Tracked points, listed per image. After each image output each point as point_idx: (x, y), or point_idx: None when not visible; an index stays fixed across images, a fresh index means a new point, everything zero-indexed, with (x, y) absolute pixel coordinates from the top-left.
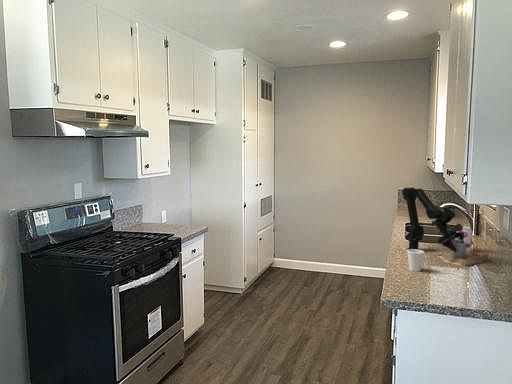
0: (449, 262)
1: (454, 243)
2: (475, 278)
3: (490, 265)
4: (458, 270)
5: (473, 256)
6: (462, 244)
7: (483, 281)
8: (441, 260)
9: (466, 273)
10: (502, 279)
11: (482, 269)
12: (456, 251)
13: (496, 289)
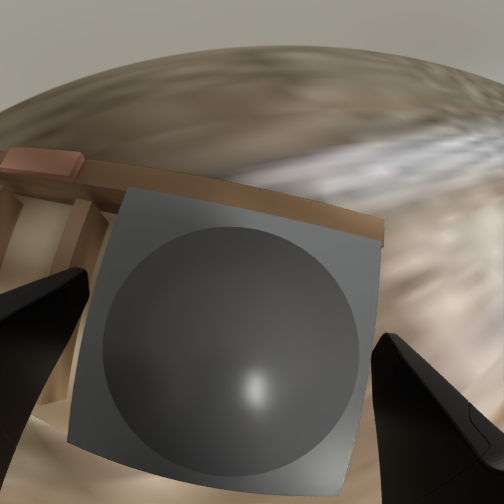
0: None
1: (338, 470)
2: (477, 151)
3: (123, 128)
4: (447, 259)
5: (84, 221)
6: (333, 233)
7: (476, 124)
8: None
9: (457, 200)
10: (389, 64)
11: (289, 137)
12: (384, 340)
13: (491, 96)
